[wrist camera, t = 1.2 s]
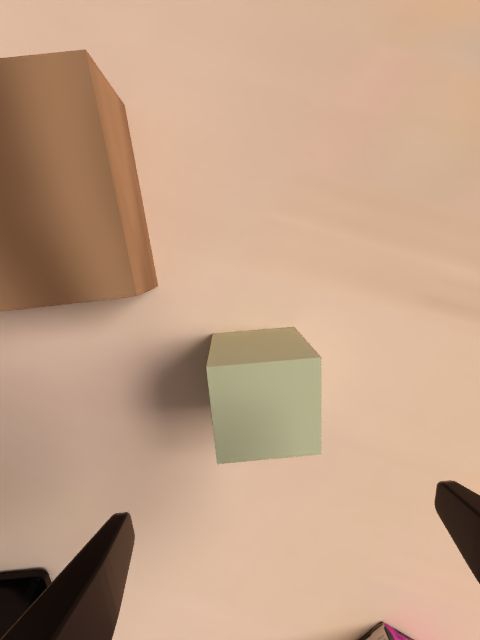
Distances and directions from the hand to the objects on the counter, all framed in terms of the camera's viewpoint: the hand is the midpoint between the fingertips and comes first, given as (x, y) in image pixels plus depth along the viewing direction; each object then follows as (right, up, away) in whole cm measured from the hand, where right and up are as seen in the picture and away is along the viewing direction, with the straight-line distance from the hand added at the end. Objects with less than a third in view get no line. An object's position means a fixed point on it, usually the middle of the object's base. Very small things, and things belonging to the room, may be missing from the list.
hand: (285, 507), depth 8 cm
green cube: (0, +2, +9) cm, 10 cm away
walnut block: (-11, +11, +7) cm, 17 cm away
